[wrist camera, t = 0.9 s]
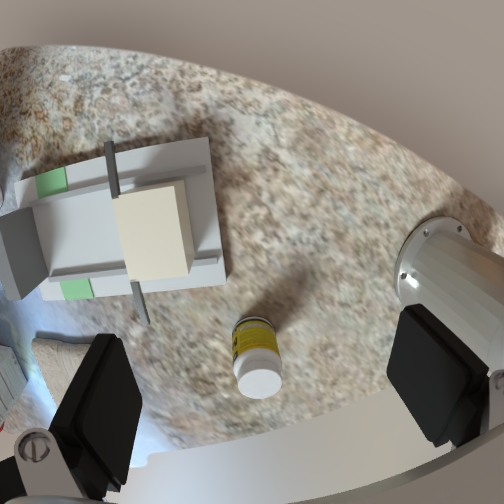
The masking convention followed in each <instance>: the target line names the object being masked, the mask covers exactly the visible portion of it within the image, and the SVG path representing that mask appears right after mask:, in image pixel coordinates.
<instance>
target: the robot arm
mask: <svg viewBox="0 0 504 504" xmlns="http://www.w3.org/2000/svg"><path fill="white" fill-rule="evenodd" d="M394 281H395V289H396V294H397V296H398V298H399V300H400V301H401V303H402V304H403V305H404V306H405V308H404V310H403V311H401V313H400V316H399V321H398V326H397V330H396V335H395V339H394V343H393V347H392V351H391V355H390V359H389V362H388V366H387V377H388V379H389V380H390V382H391V383H392V385H393V386H394V388H395V389H396V391H397V393H398V394H399V396H400V397H401V399H402V400H403V401H404V403H405V405H406V406H407V408H408V410H409V411H410V413H411V414H412V416H413V418H414V419H415V421H416V422H417V424H418V425H419V427H420V429H421V430H422V432H423V434H424V435H425V437H426V438H427V440H428V441H430V442H433V444H434V446H435V447H439V446H441V445H443V444H445V443H447V442H448V441H449V440H450V441H451V442H452V447H451V451H450V452H448V453H446V454H444V455H442V456H440V457H438V458H436V459H434V460H432V461H430V462H427V463H425V464H423V465H421V466H418V467H416V468H414V469H411V470H408V471H406V472H403V473H401V474H398V475H396V476H393V477H390V478H387V479H384V480H382V481H378V482H375V483H372V484H369V485H366V486H363V487H359V488H356V489H353V490H349V491H345V492H341V493H337V494H333V495H329V496H325V497H320V498H316V499H311V500H305V501H300V502H294V503H288V504H504V257H502V256H500V255H498V254H496V253H494V252H492V251H490V250H488V249H486V248H484V247H482V246H480V245H478V244H476V243H474V242H472V240H471V236H470V234H469V232H468V230H467V228H466V227H465V226H464V225H463V224H462V223H461V222H459V221H458V220H456V219H453V218H451V217H446V216H440V217H435V218H432V219H429V220H427V221H426V222H424V223H422V224H421V225H420V226H419V227H418V228H416V229H415V230H414V231H413V233H412V234H411V235H410V236H409V238H408V239H407V241H406V242H405V244H404V246H403V247H402V250H401V252H400V254H399V256H398V260H397V263H396V267H395V275H394ZM488 371H490V372H491V373H492V374H491V376H490V377H488V376H487V373H488ZM141 409H142V396H141V393H140V391H139V388H138V385H137V383H136V380H135V377H134V375H133V372H132V369H131V366H130V363H129V360H128V358H127V355H126V352H125V348H124V345H123V342H122V340H121V339H120V338H117V337H116V335H115V334H97V335H96V337H95V339H94V340H93V342H92V344H91V346H90V347H89V349H88V351H87V353H86V355H85V356H84V358H83V360H82V362H81V364H80V366H79V368H78V369H77V371H76V373H75V375H74V377H73V379H72V381H71V383H70V385H69V387H68V389H67V391H66V393H65V395H64V397H63V399H62V401H61V403H60V405H59V407H58V409H57V411H56V413H55V416H54V418H53V420H52V422H51V425H50V427H49V429H48V430H46V429H43V428H32V429H28V430H26V431H25V432H23V433H22V434H21V435H20V436H19V437H18V438H17V440H16V442H15V445H14V456H12V457H9V458H7V459H5V460H3V461H1V462H0V504H116V503H109V502H107V500H106V499H105V496H106V492H107V491H113V492H120V489H121V485H125V483H126V481H127V475H128V470H129V465H130V460H131V455H132V450H133V445H134V440H135V436H136V431H137V426H138V422H139V418H140V413H141Z"/></svg>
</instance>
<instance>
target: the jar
mask: <svg viewBox="0 0 504 504" xmlns="http://www.w3.org/2000/svg"><path fill="white" fill-rule="evenodd" d="M2 202H3V196H2V191H1V188H0V208H1V206H2Z"/></svg>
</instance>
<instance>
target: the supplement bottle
mask: <svg viewBox="0 0 504 504" xmlns="http://www.w3.org/2000/svg"><path fill="white" fill-rule="evenodd" d="M232 350H233V370H234V374H235V376H236V377H237V381H238V388H239V390H240V392H241V393H242V394H243V395H245V396H247V397H249V398H253V399H263V398H267V397H270V396H272V395H274V394H275V393H276V392H277V391H278V390H279V389H280V388H281V385H282V377H281V371H282V361H281V357H280V353H279V349H278V344H277V340H276V336H275V332H274V328H273V326H272V325H271V323H270V322H269V321H267V320H266V319H264V318H261V317H248V318H245V319H243V320H241V321H239V322H238V323H237V324H236V325H235V327H234V329H233V332H232Z"/></svg>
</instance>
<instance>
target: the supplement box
mask: <svg viewBox="0 0 504 504" xmlns="http://www.w3.org/2000/svg"><path fill="white" fill-rule="evenodd" d="M26 385H27V380H26V378H25V376H24V374H23V372H22V369H21V367H20V365H19V363H18V360H17V358H16V356H15V353H14V351H13V349H12V348H11V347H6V346H2V345H0V427H1V426H2V424H3V422H4V420H5V419H6V417H7V415H8V414H9V412H10V410H11V409H12V407H13V405H14V404H15V402H16V400H17V399H18V397H19V396H20V394H21V393H22V391H23V389H24V388H25V386H26Z"/></svg>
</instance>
